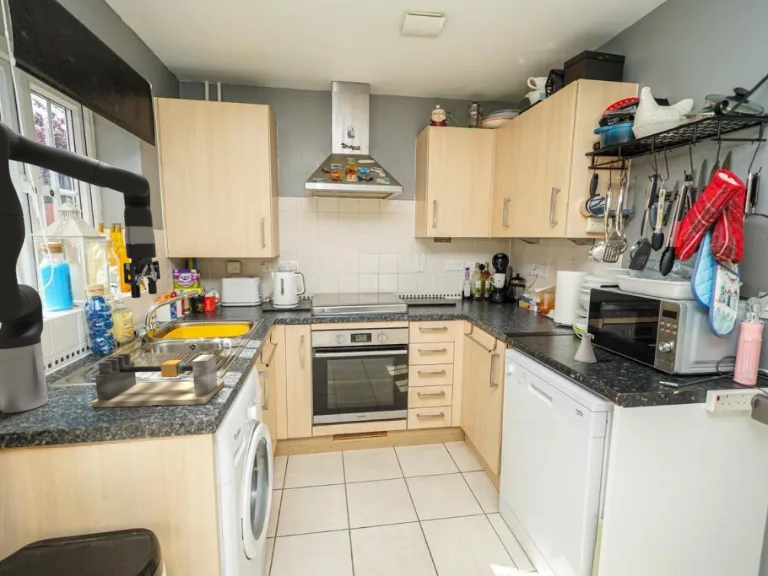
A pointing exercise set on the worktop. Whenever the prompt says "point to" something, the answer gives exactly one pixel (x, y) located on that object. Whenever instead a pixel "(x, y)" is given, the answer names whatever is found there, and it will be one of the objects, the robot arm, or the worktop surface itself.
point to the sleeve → (170, 368)
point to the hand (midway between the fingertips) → (144, 295)
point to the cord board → (154, 384)
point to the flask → (585, 350)
